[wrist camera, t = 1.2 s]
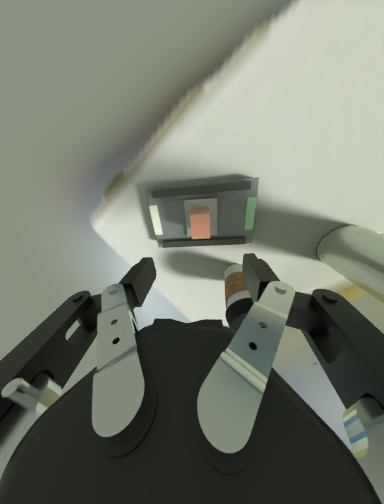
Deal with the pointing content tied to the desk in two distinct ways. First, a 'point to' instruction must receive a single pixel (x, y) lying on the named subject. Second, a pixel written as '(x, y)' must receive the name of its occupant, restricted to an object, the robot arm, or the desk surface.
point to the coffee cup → (236, 296)
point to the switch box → (228, 212)
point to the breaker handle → (201, 217)
